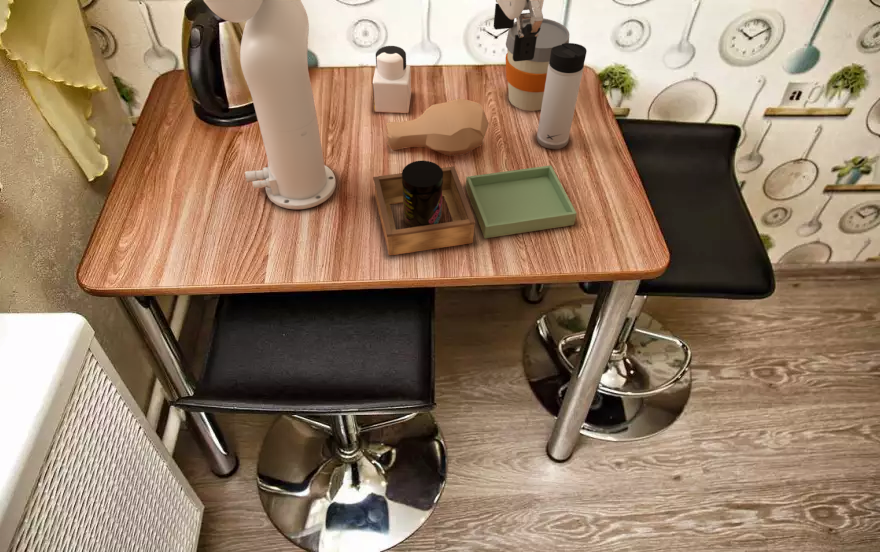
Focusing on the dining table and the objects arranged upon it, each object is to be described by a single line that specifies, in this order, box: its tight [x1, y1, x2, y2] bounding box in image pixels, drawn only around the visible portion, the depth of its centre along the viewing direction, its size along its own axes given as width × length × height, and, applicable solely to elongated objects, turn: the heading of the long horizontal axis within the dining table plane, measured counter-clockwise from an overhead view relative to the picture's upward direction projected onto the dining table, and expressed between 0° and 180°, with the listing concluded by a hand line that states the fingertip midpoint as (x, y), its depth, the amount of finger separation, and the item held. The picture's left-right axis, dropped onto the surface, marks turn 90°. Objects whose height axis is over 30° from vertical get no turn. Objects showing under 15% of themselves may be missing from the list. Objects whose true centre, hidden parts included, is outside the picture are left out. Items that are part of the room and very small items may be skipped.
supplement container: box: [401, 160, 443, 228], centre depth 105 cm, size 7×7×10 cm
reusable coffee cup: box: [505, 17, 570, 112], centre depth 128 cm, size 13×12×15 cm
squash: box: [385, 98, 490, 157], centre depth 120 cm, size 11×20×9 cm, turn 94°
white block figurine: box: [372, 45, 412, 114], centre depth 127 cm, size 7×7×12 cm
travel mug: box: [536, 42, 587, 150], centre depth 117 cm, size 6×7×20 cm
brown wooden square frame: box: [372, 166, 476, 256], centre depth 107 cm, size 15×15×5 cm
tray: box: [465, 164, 578, 239], centre depth 111 cm, size 16×13×3 cm
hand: (512, 43), depth 97 cm, fingers open, 9 cm apart
